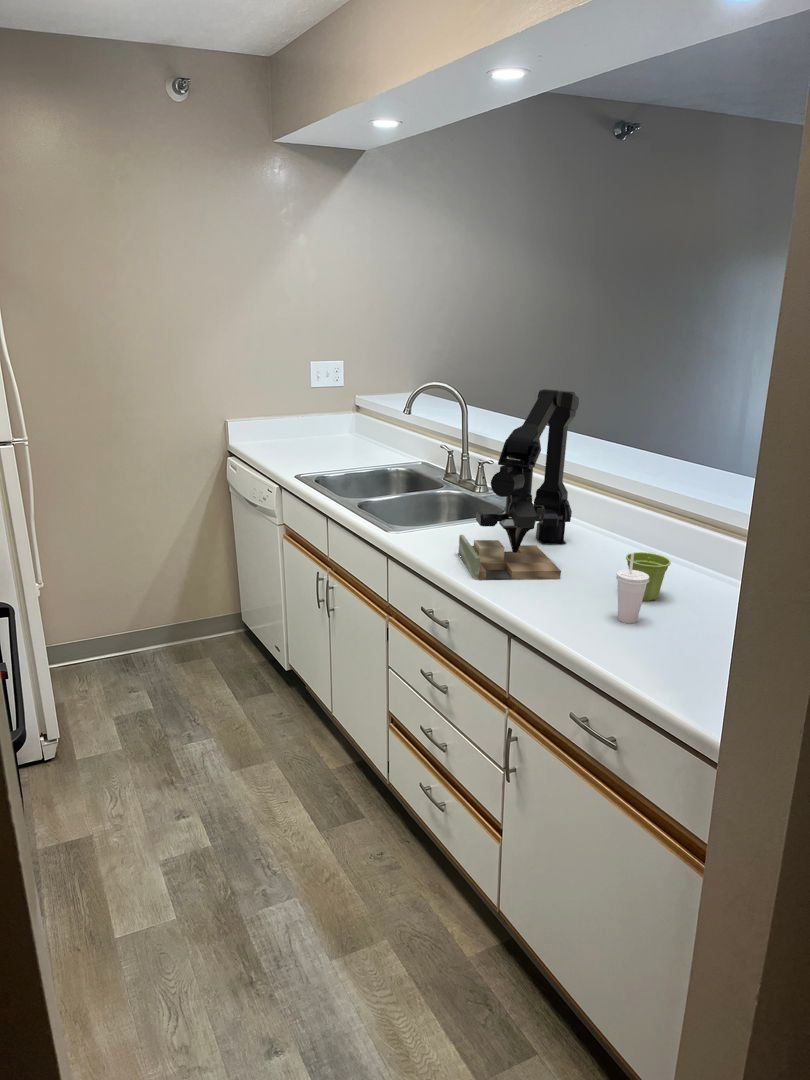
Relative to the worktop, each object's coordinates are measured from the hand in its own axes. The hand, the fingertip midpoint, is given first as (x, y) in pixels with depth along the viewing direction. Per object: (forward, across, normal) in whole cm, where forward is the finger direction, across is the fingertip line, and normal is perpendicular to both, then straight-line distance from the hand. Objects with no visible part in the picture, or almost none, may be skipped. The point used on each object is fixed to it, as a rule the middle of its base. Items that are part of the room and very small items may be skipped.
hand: (514, 552), depth 194 cm
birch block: (+1, -6, 0) cm, 7 cm away
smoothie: (+3, +15, -35) cm, 38 cm away
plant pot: (+4, +24, -22) cm, 32 cm away
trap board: (+3, -1, 0) cm, 4 cm away
